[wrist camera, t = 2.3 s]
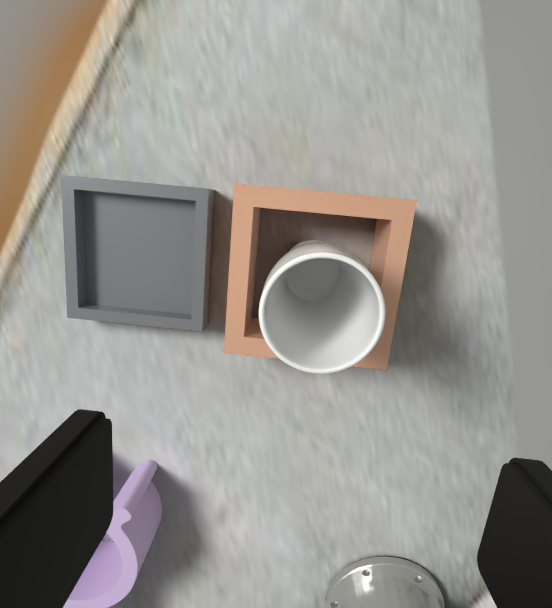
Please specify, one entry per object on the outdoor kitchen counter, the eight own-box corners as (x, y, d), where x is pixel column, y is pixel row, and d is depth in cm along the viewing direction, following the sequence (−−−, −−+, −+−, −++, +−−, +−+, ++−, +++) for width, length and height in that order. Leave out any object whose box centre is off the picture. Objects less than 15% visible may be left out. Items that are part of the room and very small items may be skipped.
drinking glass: (339, 220, 34) (370, 233, 19) (358, 294, 35) (400, 358, 21) (264, 243, 35) (239, 272, 20) (286, 314, 36) (278, 389, 22)
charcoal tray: (215, 190, 34) (208, 189, 31) (208, 323, 37) (202, 331, 34) (78, 177, 34) (61, 175, 32) (82, 310, 37) (67, 317, 35)
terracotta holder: (397, 200, 33) (416, 200, 28) (373, 345, 36) (387, 370, 31) (244, 186, 33) (234, 183, 28) (234, 331, 37) (223, 352, 31)
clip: (130, 604, 46) (101, 672, 39) (28, 569, 46) (-18, 632, 39) (180, 468, 41) (156, 520, 34) (66, 427, 41) (20, 472, 34)
